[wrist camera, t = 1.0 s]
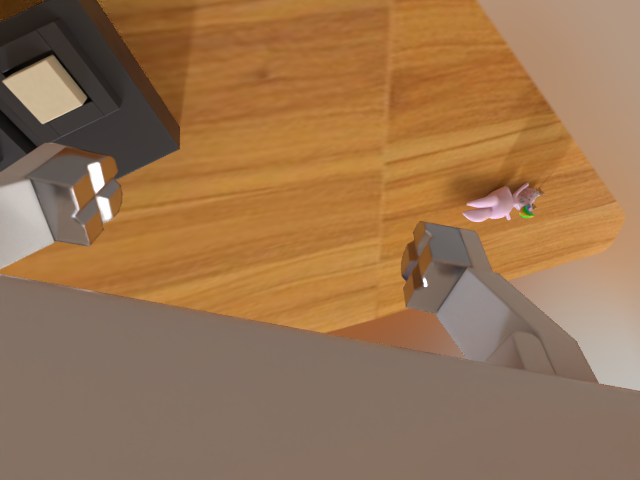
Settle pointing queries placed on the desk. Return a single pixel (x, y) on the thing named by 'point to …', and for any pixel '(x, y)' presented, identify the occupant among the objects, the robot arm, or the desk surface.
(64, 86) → the high key
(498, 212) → the rabbit figure
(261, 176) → the desk surface
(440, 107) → the desk surface
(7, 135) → the low key box
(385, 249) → the desk surface
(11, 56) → the high key box
